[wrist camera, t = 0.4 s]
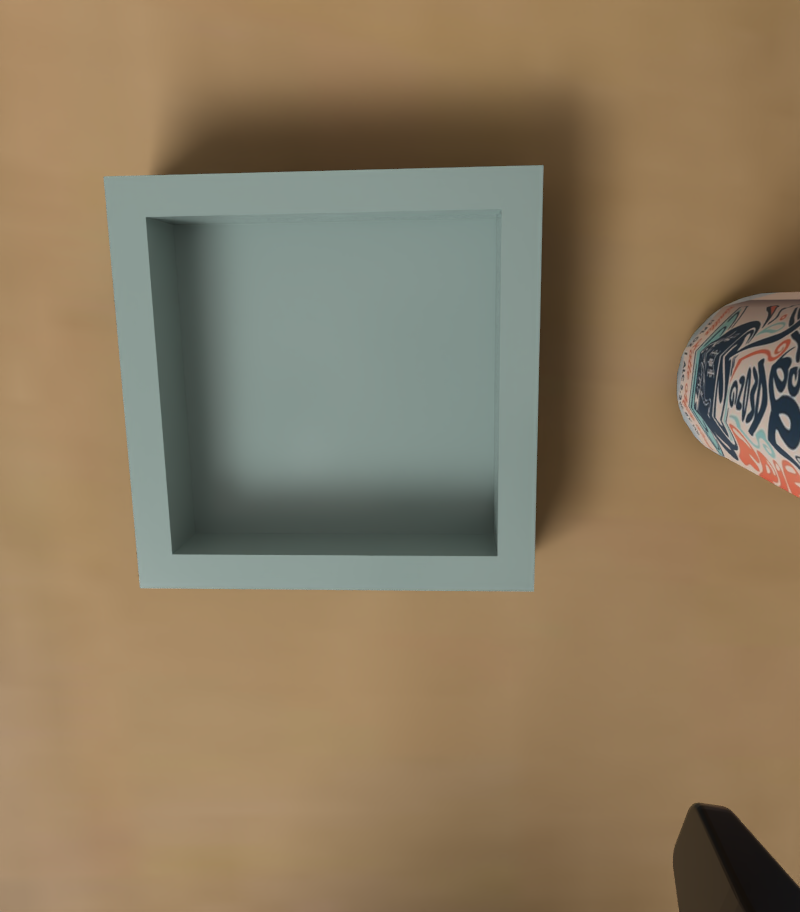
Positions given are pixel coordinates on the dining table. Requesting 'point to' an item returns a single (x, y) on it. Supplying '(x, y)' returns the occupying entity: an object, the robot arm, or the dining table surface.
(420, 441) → the dish
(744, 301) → the beer can
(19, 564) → the dining table surface
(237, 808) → the dining table surface
